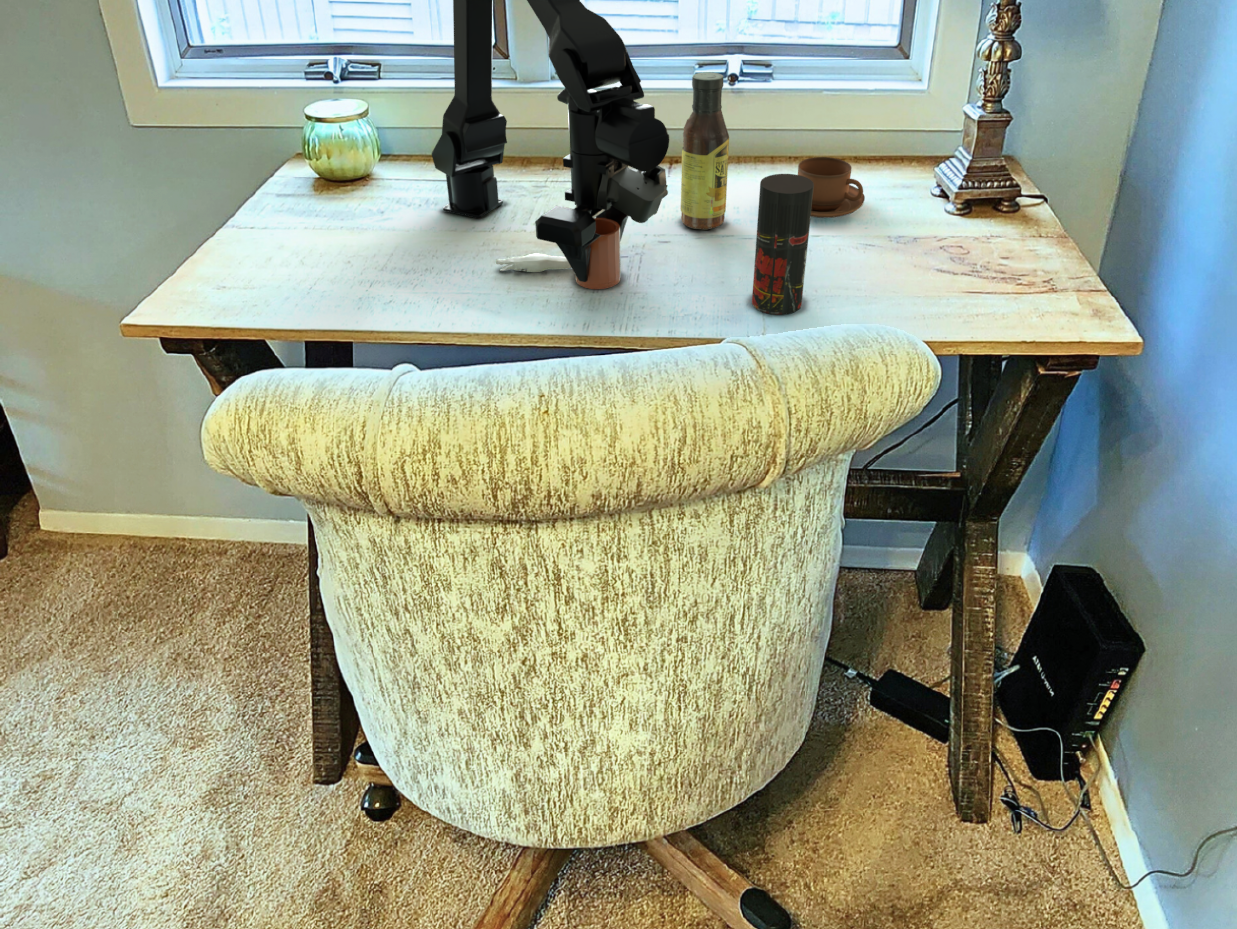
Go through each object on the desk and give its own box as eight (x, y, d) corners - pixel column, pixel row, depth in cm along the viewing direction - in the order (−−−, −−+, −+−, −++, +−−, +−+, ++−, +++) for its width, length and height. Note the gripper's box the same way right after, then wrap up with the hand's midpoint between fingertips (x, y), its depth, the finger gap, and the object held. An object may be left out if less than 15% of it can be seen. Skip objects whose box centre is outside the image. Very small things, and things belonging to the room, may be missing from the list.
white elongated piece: (495, 275, 131) (494, 261, 129) (496, 266, 133) (495, 252, 132) (612, 271, 131) (612, 258, 130) (611, 262, 133) (611, 249, 132)
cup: (567, 283, 128) (564, 231, 124) (589, 265, 132) (587, 214, 128) (606, 292, 126) (605, 240, 122) (628, 274, 130) (627, 222, 126)
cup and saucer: (868, 197, 149) (874, 155, 146) (856, 229, 140) (861, 186, 137) (787, 188, 152) (790, 147, 149) (770, 219, 143) (773, 176, 140)
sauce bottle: (722, 233, 140) (729, 84, 128) (677, 230, 141) (680, 82, 129) (727, 214, 145) (735, 70, 133) (684, 211, 146) (687, 68, 134)
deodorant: (747, 293, 126) (755, 174, 117) (795, 290, 126) (807, 172, 117) (757, 316, 121) (766, 194, 112) (806, 313, 121) (819, 192, 112)
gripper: (616, 185, 110) (618, 315, 119) (690, 132, 123) (687, 253, 132) (528, 168, 114) (537, 295, 123) (609, 119, 127) (611, 237, 136)
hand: (597, 269), depth 129 cm, fingers open, 7 cm apart
